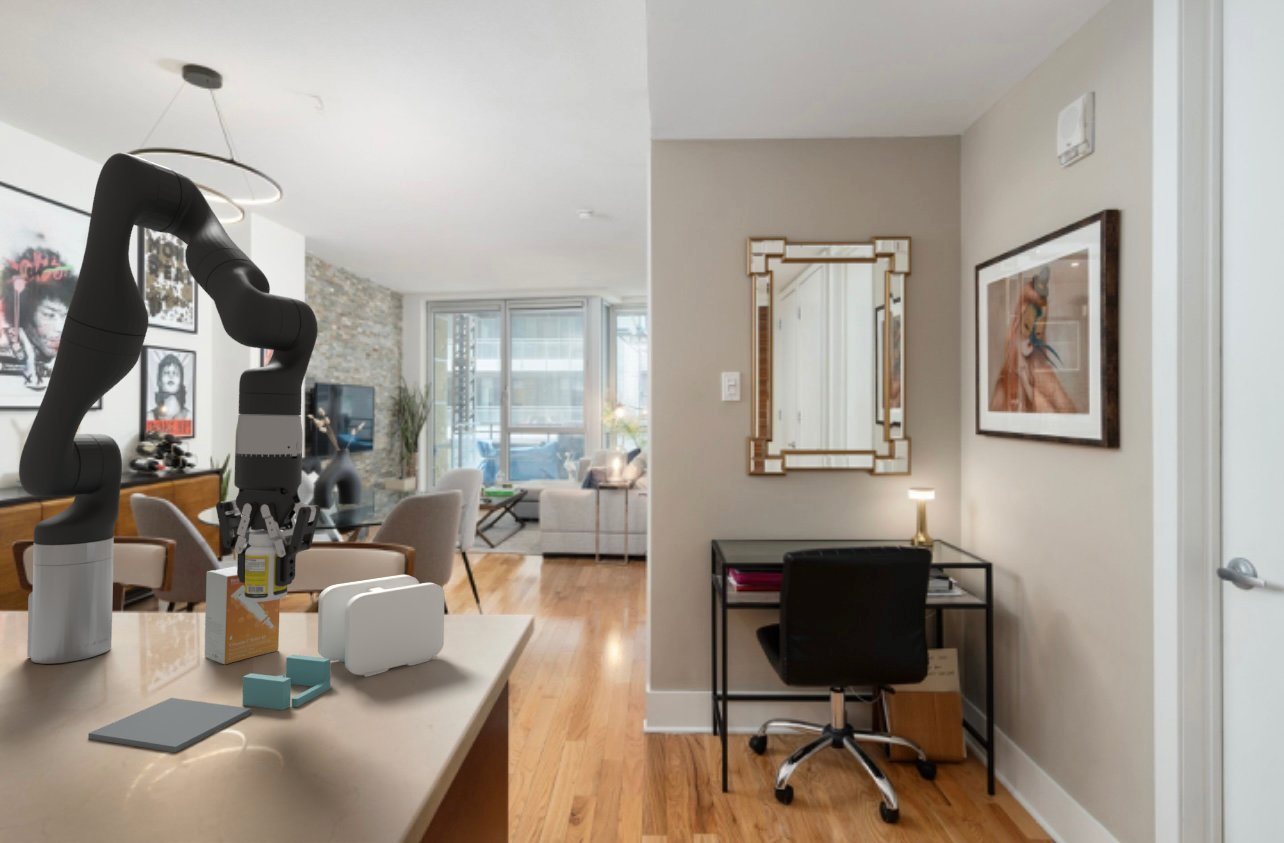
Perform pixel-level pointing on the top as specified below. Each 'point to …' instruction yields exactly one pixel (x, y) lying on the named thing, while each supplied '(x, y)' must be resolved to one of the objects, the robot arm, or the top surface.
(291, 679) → the teal corner cradle
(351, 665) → the cable organizer
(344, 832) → the top surface
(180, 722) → the mat
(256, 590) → the supplement bottle
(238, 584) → the small box
